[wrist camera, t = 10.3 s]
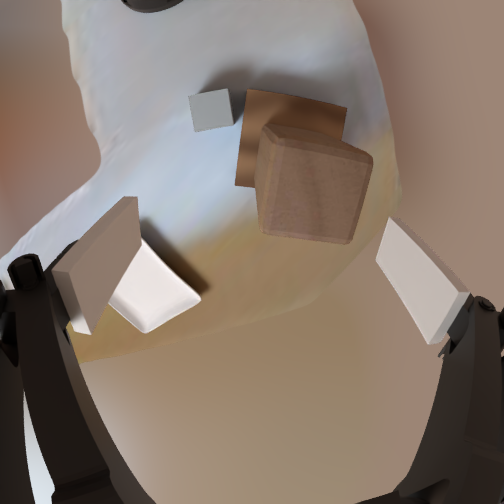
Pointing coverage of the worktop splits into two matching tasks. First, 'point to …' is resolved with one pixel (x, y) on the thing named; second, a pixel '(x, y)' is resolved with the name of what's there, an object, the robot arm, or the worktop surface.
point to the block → (309, 184)
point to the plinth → (281, 113)
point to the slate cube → (211, 110)
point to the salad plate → (151, 292)
